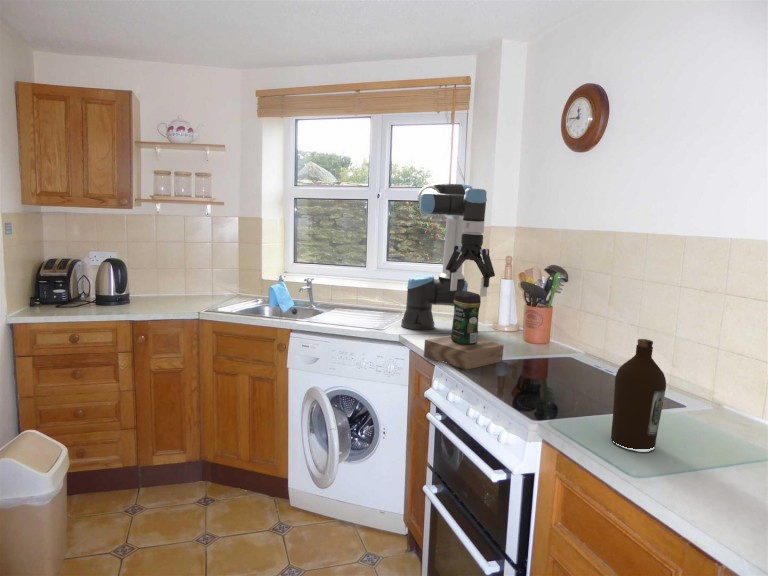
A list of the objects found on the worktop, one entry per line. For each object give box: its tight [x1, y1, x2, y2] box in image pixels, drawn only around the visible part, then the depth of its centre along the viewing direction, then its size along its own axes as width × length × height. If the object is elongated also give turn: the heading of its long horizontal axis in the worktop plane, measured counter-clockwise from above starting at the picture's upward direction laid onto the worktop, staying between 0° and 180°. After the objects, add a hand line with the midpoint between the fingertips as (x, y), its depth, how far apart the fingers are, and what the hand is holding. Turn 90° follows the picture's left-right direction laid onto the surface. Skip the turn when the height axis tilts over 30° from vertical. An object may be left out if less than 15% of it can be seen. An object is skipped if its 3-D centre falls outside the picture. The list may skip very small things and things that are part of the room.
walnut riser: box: [423, 335, 504, 371], centre depth 191 cm, size 20×20×6 cm
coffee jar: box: [451, 290, 482, 345], centre depth 190 cm, size 10×8×19 cm
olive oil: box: [610, 338, 667, 449], centre depth 123 cm, size 11×11×25 cm
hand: (467, 293), depth 189 cm, fingers open, 13 cm apart
